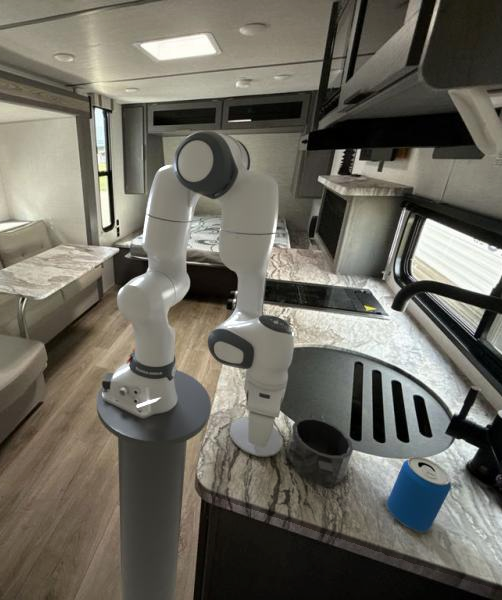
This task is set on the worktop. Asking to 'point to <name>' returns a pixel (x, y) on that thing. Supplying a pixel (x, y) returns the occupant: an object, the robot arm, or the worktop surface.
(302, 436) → the pot
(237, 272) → the robot arm
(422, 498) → the beverage can
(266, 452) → the pot lid
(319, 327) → the worktop surface
